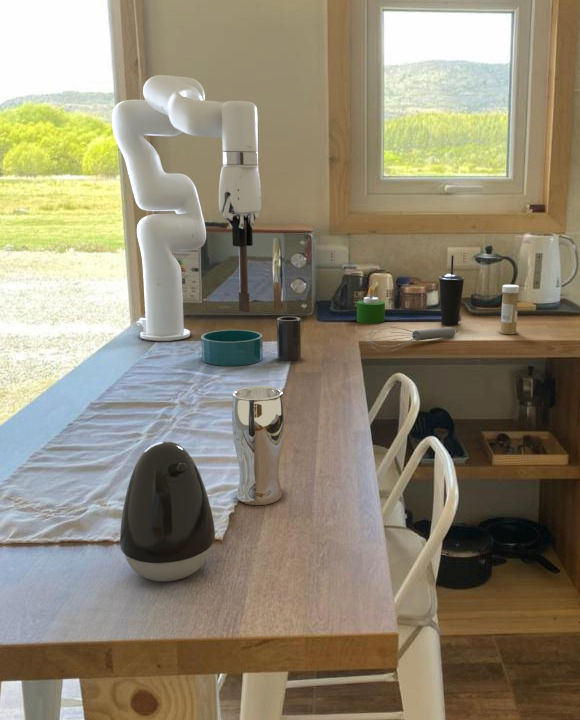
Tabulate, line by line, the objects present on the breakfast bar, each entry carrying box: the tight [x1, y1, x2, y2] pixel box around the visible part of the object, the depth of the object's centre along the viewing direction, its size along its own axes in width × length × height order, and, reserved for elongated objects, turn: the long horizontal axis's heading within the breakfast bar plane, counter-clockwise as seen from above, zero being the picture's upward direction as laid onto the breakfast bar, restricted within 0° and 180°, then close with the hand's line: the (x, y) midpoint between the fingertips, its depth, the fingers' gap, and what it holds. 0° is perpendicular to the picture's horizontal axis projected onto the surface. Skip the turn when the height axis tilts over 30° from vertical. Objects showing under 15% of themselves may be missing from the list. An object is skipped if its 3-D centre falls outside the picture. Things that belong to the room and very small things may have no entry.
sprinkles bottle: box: [499, 284, 520, 335], centre depth 223 cm, size 5×5×13 cm
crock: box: [276, 316, 302, 363], centre depth 187 cm, size 5×6×10 cm
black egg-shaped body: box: [119, 441, 216, 583], centre depth 89 cm, size 10×10×15 cm
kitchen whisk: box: [366, 325, 459, 353], centre depth 207 cm, size 6×34×6 cm, turn 136°
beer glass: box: [231, 385, 285, 506], centre depth 110 cm, size 7×7×15 cm
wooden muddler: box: [238, 220, 251, 313], centre depth 180 cm, size 2×2×20 cm
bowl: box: [200, 329, 264, 367], centre depth 186 cm, size 14×14×6 cm
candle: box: [356, 286, 386, 324], centre depth 237 cm, size 8×8×10 cm
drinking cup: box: [438, 254, 466, 326], centre depth 234 cm, size 8×8×20 cm
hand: (242, 245), depth 179 cm, fingers closed on wooden muddler, 1 cm apart
